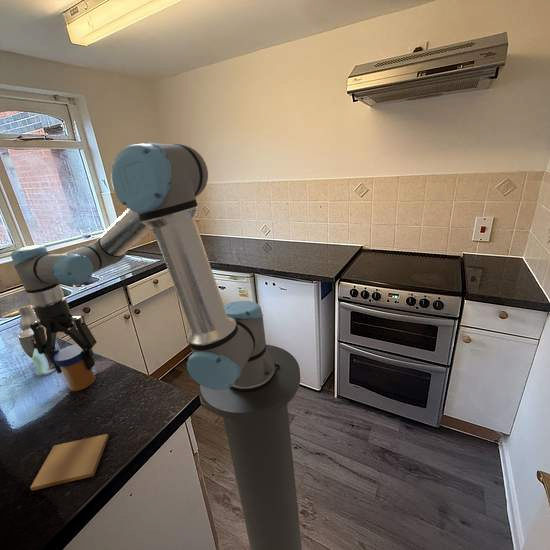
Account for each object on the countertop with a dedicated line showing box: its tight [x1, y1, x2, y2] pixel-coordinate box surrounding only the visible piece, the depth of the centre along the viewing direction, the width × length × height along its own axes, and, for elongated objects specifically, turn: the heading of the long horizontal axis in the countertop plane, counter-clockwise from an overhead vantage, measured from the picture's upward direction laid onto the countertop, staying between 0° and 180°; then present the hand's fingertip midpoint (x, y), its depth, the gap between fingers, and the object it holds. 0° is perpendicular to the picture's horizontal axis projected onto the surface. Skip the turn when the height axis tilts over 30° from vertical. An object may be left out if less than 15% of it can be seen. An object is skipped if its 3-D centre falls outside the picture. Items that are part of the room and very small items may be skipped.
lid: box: [54, 343, 83, 367], centre depth 88 cm, size 8×8×2 cm
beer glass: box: [17, 328, 57, 377], centre depth 97 cm, size 7×7×15 cm
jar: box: [60, 359, 97, 392], centre depth 90 cm, size 7×7×11 cm
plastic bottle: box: [18, 305, 57, 351], centre depth 103 cm, size 6×7×20 cm
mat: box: [29, 433, 110, 491], centre depth 67 cm, size 12×10×1 cm
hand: (76, 368), depth 90 cm, fingers closed on lid, 8 cm apart
